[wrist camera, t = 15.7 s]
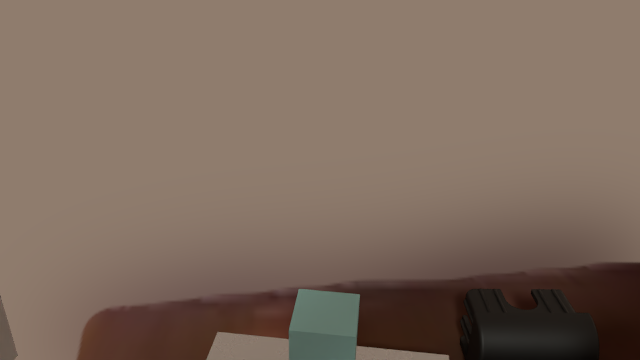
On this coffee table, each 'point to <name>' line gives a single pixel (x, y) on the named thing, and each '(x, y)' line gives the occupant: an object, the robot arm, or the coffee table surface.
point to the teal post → (324, 326)
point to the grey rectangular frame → (273, 353)
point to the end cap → (526, 328)
